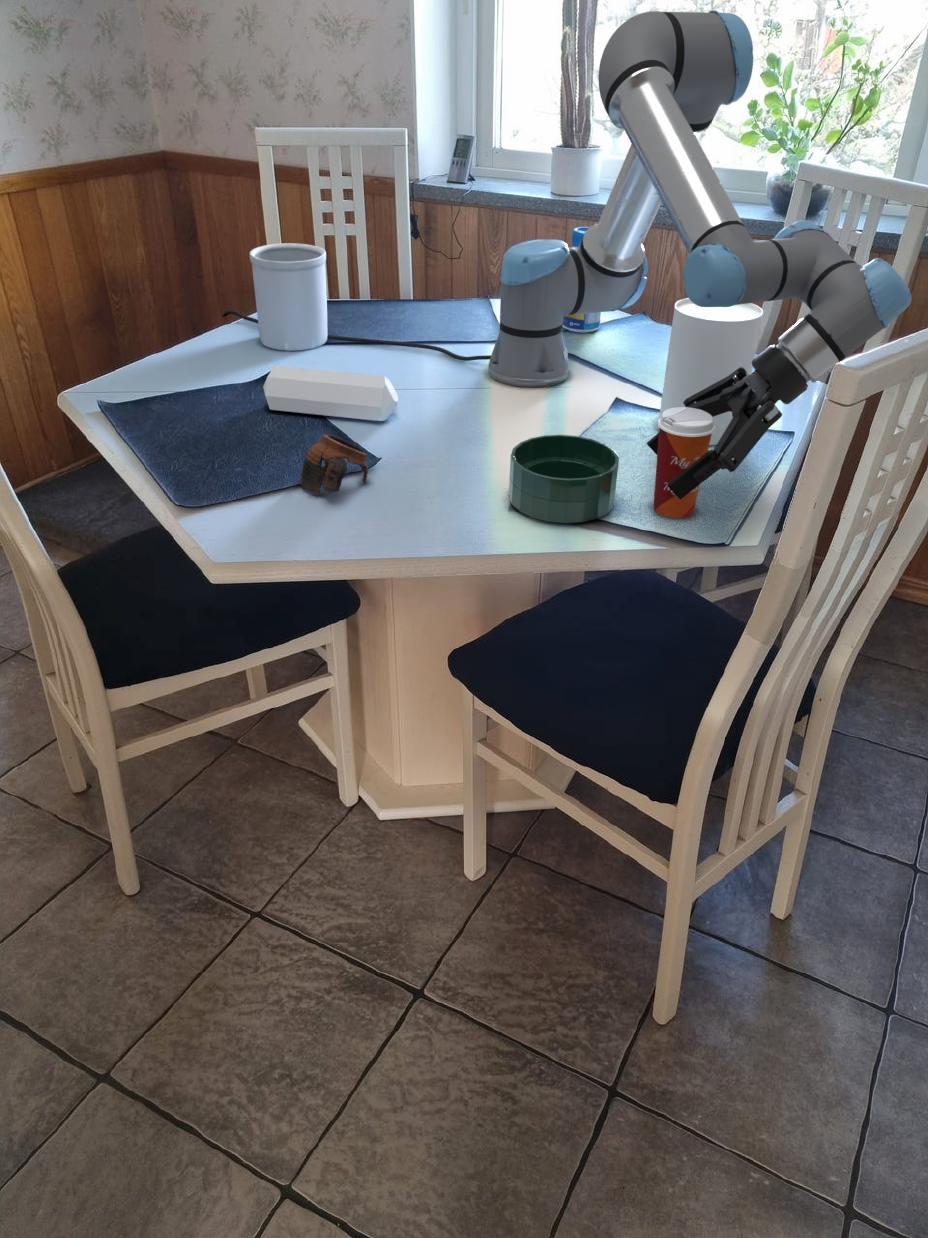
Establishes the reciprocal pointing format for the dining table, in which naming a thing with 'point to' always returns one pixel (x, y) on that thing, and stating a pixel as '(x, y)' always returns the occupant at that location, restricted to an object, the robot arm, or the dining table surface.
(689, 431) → the paper cup
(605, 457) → the green pet bowl
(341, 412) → the crystal
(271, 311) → the utensil holder
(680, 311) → the canister
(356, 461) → the leather tool belt
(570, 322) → the beverage bottle
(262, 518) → the dining table surface
